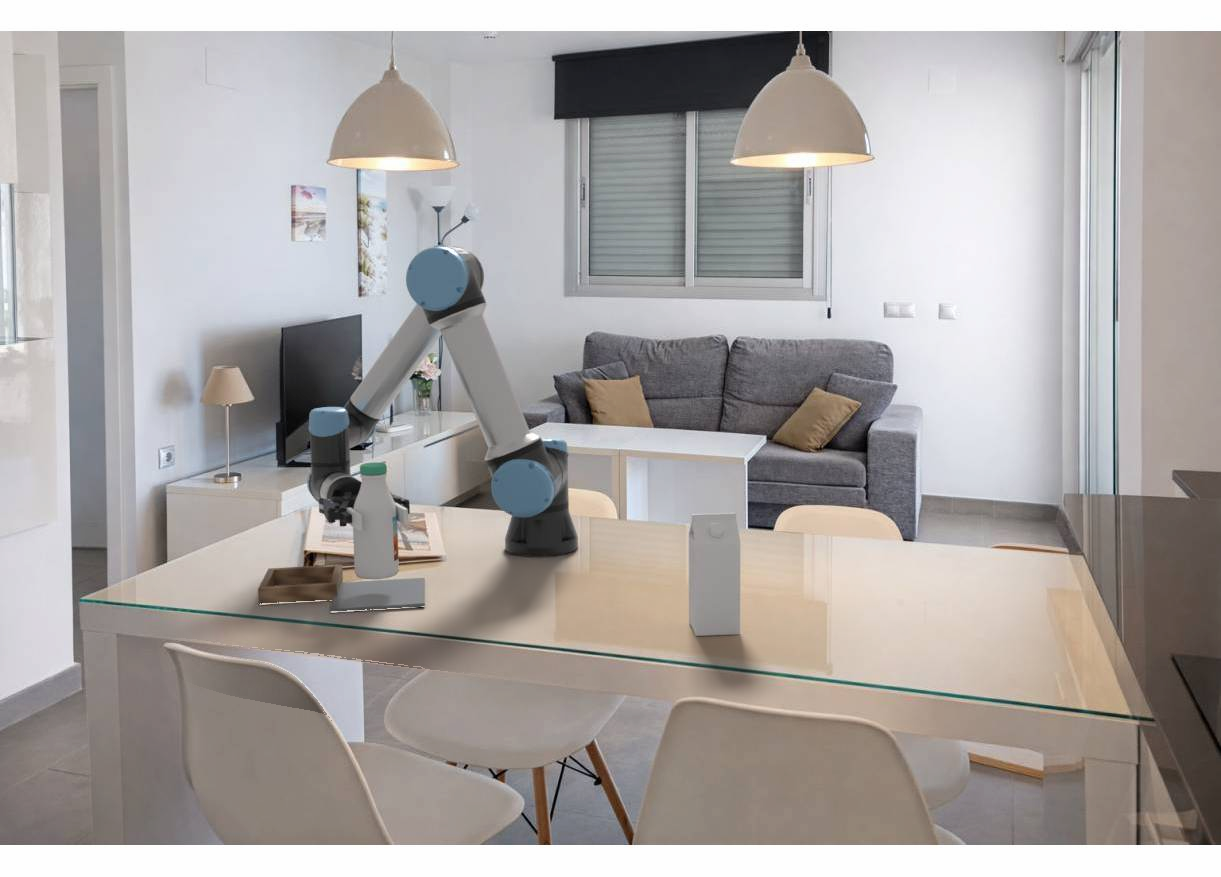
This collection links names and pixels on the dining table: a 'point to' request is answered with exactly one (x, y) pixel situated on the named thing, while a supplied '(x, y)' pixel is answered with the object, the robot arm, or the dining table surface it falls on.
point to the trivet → (380, 594)
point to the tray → (300, 576)
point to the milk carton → (714, 574)
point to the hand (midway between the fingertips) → (383, 519)
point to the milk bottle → (375, 526)
